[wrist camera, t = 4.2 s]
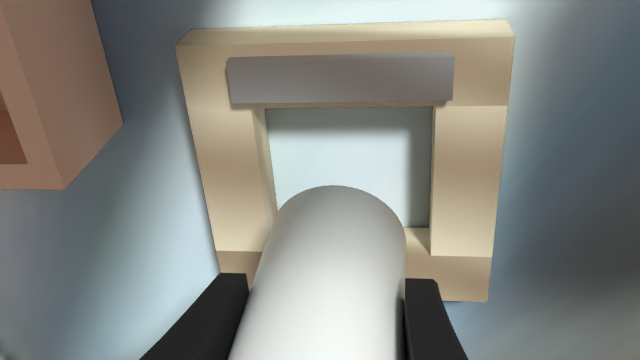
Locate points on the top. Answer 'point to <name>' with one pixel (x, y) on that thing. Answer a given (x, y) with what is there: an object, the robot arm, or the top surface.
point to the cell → (328, 282)
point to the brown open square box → (52, 93)
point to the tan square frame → (346, 92)
